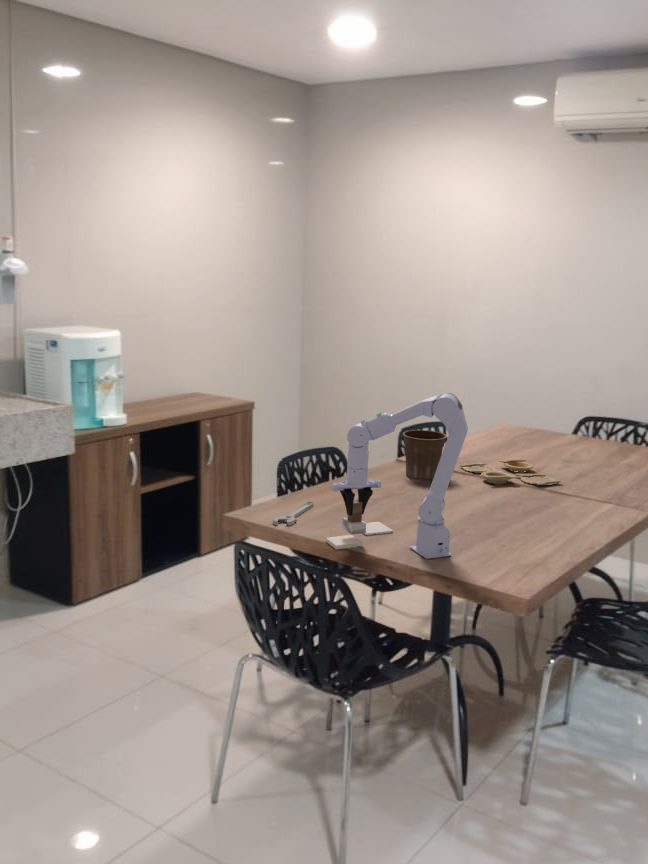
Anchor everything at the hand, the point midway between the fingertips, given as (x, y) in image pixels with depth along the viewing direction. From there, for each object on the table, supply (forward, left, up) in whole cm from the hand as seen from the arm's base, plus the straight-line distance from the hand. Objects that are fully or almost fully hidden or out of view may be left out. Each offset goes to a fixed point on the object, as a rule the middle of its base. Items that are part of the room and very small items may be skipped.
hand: (355, 514), depth 235 cm
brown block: (0, 0, -5) cm, 5 cm away
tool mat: (+9, -11, -8) cm, 16 cm away
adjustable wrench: (+29, +5, -9) cm, 31 cm away
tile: (0, -1, -8) cm, 8 cm away
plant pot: (+60, -59, -9) cm, 84 cm away
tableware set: (+51, -92, -9) cm, 105 cm away
